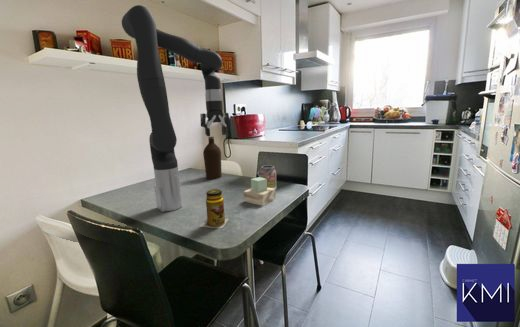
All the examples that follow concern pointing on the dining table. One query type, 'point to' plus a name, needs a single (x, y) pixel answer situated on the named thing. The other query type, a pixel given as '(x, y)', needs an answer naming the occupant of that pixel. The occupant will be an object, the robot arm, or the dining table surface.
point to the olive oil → (212, 160)
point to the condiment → (214, 210)
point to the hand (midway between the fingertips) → (216, 135)
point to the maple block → (259, 196)
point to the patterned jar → (268, 175)
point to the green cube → (258, 184)
